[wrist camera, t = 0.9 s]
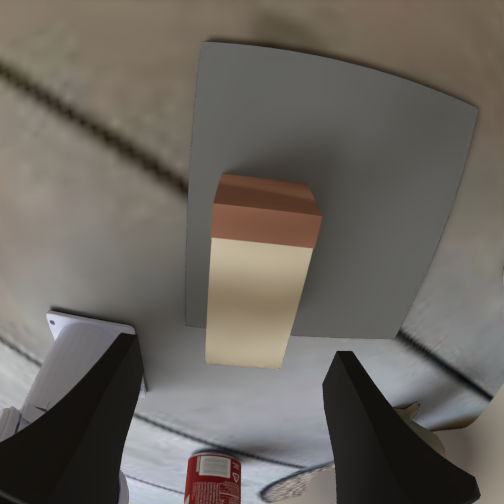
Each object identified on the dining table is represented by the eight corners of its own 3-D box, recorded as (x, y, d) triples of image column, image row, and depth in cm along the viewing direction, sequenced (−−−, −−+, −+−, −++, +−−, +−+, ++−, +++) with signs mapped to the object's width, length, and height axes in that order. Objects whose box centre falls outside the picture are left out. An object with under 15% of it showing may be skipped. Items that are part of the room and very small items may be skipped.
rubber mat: (392, 334, 24) (394, 338, 23) (186, 321, 23) (185, 325, 22) (473, 107, 15) (478, 108, 14) (203, 42, 14) (201, 41, 13)
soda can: (195, 444, 33) (187, 533, 23) (248, 453, 35) (248, 539, 24) (184, 460, 37) (176, 538, 26) (231, 469, 38) (229, 544, 28)
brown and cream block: (276, 323, 22) (280, 369, 19) (210, 317, 22) (204, 363, 18) (307, 184, 17) (322, 216, 14) (221, 173, 17) (213, 203, 13)
